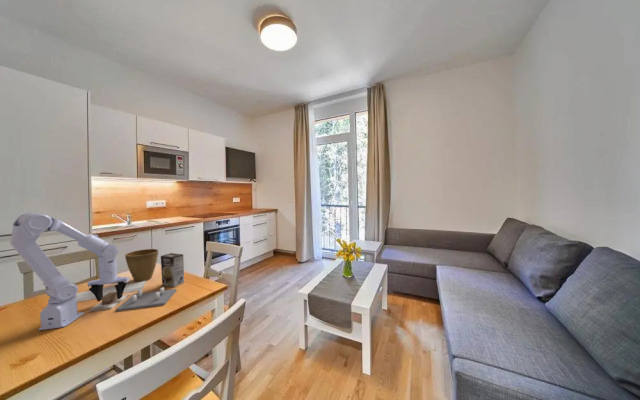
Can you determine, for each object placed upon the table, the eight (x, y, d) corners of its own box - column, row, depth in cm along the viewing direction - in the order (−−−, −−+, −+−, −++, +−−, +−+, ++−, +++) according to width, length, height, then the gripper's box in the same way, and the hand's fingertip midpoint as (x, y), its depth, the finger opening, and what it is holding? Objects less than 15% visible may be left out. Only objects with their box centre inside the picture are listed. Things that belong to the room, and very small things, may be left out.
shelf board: (111, 310, 94) (110, 299, 94) (89, 312, 93) (88, 302, 92) (129, 296, 106) (128, 287, 106) (110, 298, 104) (109, 289, 104)
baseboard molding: (142, 292, 111) (146, 283, 122) (141, 286, 111) (146, 278, 122) (52, 309, 96) (66, 297, 106) (52, 303, 96) (66, 292, 106)
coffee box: (161, 285, 117) (159, 256, 116) (172, 280, 123) (171, 252, 122) (174, 287, 115) (172, 257, 114) (185, 282, 121) (183, 253, 120)
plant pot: (147, 284, 119) (146, 255, 118) (119, 285, 118) (117, 256, 117) (165, 273, 133) (164, 248, 133) (140, 274, 133) (138, 248, 132)
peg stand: (164, 304, 97) (164, 296, 97) (116, 311, 92) (115, 302, 92) (176, 290, 111) (176, 283, 110) (134, 295, 106) (134, 287, 106)
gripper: (132, 265, 104) (133, 292, 105) (95, 268, 101) (97, 297, 101) (123, 270, 97) (125, 300, 98) (82, 274, 94) (85, 305, 94)
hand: (110, 299), depth 99 cm, fingers open, 7 cm apart
